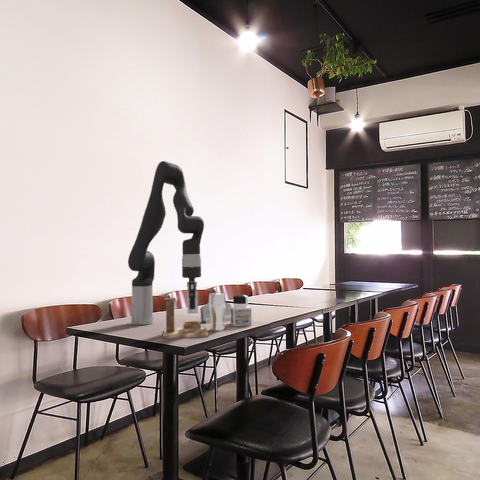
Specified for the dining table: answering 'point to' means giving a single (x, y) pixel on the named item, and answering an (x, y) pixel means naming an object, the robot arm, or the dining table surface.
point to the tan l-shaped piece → (188, 326)
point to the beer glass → (217, 311)
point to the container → (240, 311)
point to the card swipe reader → (207, 318)
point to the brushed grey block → (191, 311)
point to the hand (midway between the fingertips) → (192, 308)
